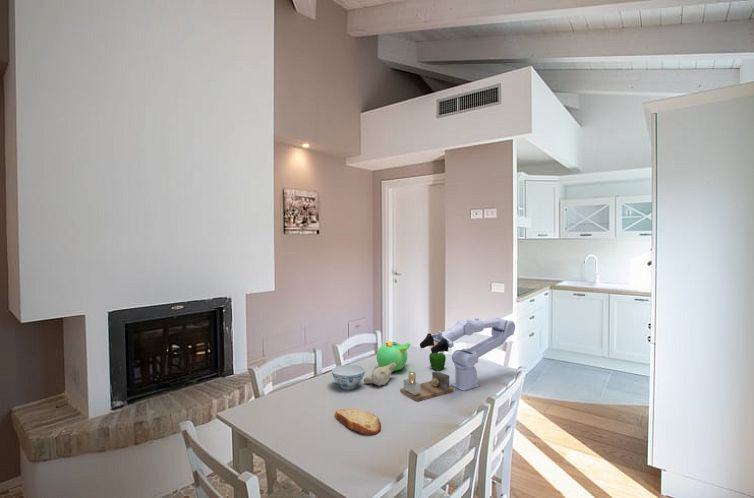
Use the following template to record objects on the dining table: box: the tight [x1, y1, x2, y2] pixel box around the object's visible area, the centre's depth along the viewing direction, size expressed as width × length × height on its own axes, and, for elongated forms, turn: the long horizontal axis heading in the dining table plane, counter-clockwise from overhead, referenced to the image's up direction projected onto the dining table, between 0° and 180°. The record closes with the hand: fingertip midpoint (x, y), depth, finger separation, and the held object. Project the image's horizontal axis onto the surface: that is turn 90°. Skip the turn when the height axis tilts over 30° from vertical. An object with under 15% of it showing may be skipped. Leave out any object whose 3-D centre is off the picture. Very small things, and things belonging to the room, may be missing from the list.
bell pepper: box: [428, 352, 447, 371], centre depth 198 cm, size 8×8×10 cm
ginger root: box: [363, 363, 396, 387], centre depth 178 cm, size 15×7×15 cm
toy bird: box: [376, 340, 411, 372], centre depth 197 cm, size 18×17×15 cm
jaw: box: [403, 371, 421, 395], centre depth 163 cm, size 3×8×8 cm, turn 32°
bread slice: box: [333, 408, 382, 436], centre depth 139 cm, size 18×18×4 cm
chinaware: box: [331, 364, 366, 390], centre depth 174 cm, size 15×15×8 cm
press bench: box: [399, 370, 454, 403], centre depth 168 cm, size 20×12×6 cm, turn 122°
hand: (425, 348), depth 163 cm, fingers open, 7 cm apart
